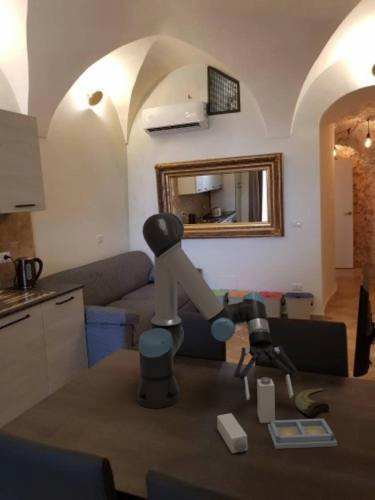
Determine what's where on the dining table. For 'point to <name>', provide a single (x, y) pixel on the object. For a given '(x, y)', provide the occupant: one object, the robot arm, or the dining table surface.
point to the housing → (301, 433)
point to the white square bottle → (266, 400)
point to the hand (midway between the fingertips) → (269, 397)
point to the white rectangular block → (232, 433)
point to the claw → (310, 403)
